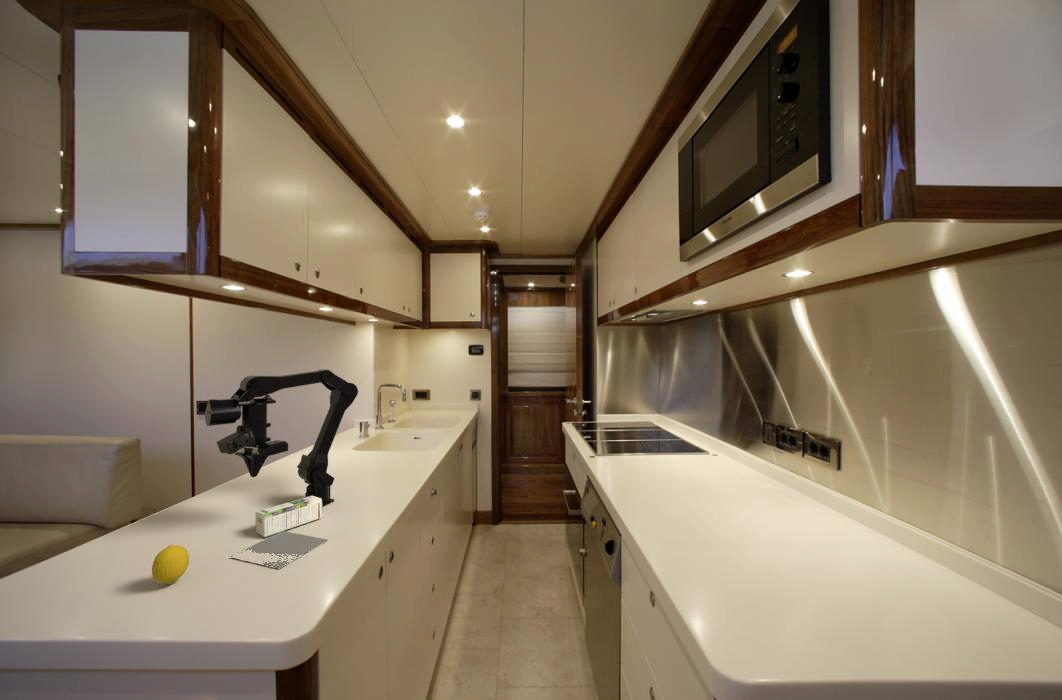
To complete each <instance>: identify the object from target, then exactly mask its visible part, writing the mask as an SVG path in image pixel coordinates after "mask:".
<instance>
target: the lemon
mask: <svg viewBox="0 0 1062 700" xmlns="http://www.w3.org/2000/svg"><path fill="white" fill-rule="evenodd" d="M189 564H190V555H189V552H188V550H187V548H185V547H184V546H182V545H178V544H176V545H175V544H169V545H168V546H167V547H165V548H163V549H162V550H161V551H159V553H157V554H156V556H155V558H154V559H153V561H152V566H151V575H152V578H153V579H154V580H155V581H156V582H157V583H159V584H167V585H172V584H173V583H174V582H175V581H176V580H179V579H180V578H181V577H182V576H183V575H184V574H186V572H187V570H188V567H189Z"/></svg>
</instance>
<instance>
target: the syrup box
mask: <svg viewBox="0 0 1062 700" xmlns="http://www.w3.org/2000/svg"><path fill="white" fill-rule="evenodd" d="M322 518H323V507H322V499H321V498H318V497H315V496H309V497H306V498H305V497H303V498H298V499H296V500H293V501H289V502H285V503H281V504H278V505H275V506H271V507H267V508H265V509H261V510H258V511H255V530H256V531H255V532H256V534H258V535H260V536H262V537H263V538H266V537H267V538H268V537H271V536H273V535H275V534H277V533H279V532H282V531H287V530H290V529H293V528H295V527H298V526H301V525H304V524H308V523H310V522H313V521H316V520H319V519H322Z"/></svg>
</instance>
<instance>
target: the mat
mask: <svg viewBox="0 0 1062 700" xmlns="http://www.w3.org/2000/svg"><path fill="white" fill-rule="evenodd" d="M326 541H327V542H328V539H326V538H321V537H315V536H312V535H310V536H309V535H307V534H306V535H305V534H300V533H296V532H290V531H287V530H284V531H282V532H279V533H276V534H273V535H270V536H268V537H267V538H264V539H263V540H261V541H259V542H257V543H255V544H253V545H251V546H249V547H247V548H245V549H246V550H248V549H249V550H251V549H252V552H253V553H254V551H255V552H256V553H260V554H261V553H264V554H265V553H269V554H272V553H274V554H275V555H277V554H281V555H282V554H284V555H283V556H286V557H288V556H287V555H286V554H288V555H291V556H296V554H297V556H296V557H299V555H302V554H304V553H306V552H308V551H309V550H311V549H313V548H315V547H317V546H318V545H320V544H322V543H323V544H325V543H326ZM324 542H325V543H324ZM323 544H322V545H323ZM320 546H321V545H320ZM250 547H251V548H250ZM318 547H319V546H318ZM318 547H317V548H318ZM245 549H244V550H245ZM315 549H316V548H315ZM246 550H245V551H246ZM313 550H314V549H313ZM239 552H240V551H239ZM239 552H237V553H239ZM241 553H242V552H241ZM285 553H286V554H285ZM308 553H309V552H308ZM292 554H295V555H292ZM233 555H234V554H233ZM233 555H230V556H231V557H232V556H233ZM281 555H277V556H279V557H282V556H281ZM271 556H273V555H271ZM282 558H283V557H282ZM294 558H295V557H294ZM271 559H272V558H271ZM279 559H281V558H279ZM286 559H288V558H286ZM286 559H284V560H286ZM291 560H294V559H291ZM279 561H281V560H278V561H277V562H272V563H271V562H269V561H268V562H269V563H267V562H265V563H263V564H264V565H268V566H273V567H276V568H281V567H282V566H284V565H285V564H287V563H289V562H287V561H288V560H287V561H283V562H279ZM263 562H264V561H263ZM275 563H277V564H275ZM273 564H275V565H273ZM281 569H282V568H281Z"/></svg>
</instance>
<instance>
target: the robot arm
mask: <svg viewBox="0 0 1062 700" xmlns="http://www.w3.org/2000/svg"><path fill="white" fill-rule="evenodd" d="M319 383H321V384H322V385H323V386H324V387H325V388H326V389H327V390H329V391H330V395H329V409H328V410H327V413H326V415H325V417H324V420H323V423H322V426H321V428H320V431H319V433H318V435H317V438H316V441H315V442H314V445H313V447H312V449H311V451H310V452H309V453H308V454H307V455H306V454H302V455H301V459H300V461H299V464H297V466H296V468H297V469H298V470H297V474H298V477H299V478H301V480H303V481H304V484H308V485H307V486H306V488H305V489H306V490H305V491H306V492H305V494H304V496H305V497H304V498H306V497H309V496H315V497H318V498H321V499H322V508H323V507H325V506H327V505H329V504H331V503H333V502H334V501H335V499H334V498H331V486H333V484H334V481H335V477H333V476H332V475H330V474H329V473H328V472H327V471H328V468H329V452H330V450H331V447H332V444H333V442H334V440H335V437H336V435H337V432H338V430H339V427H340V424H341V422H342V419H343V417H344V415H345V413H346V410H347V409H348V408H349V407H350V406H351V405H352V404H353V403H354V401H355V400H356V398H357V396H358V393H359V389H358V387H357V385H356V384H354V383H352V382H348V381H346V380H345V379H344V378H342V377H340V376H338V375H337V374H335V373H334V372H332V371H331V370H329V369H319V370H312V371H307V372H306V371H305V372H299V373H291V374H284V375H248V376H245V377H243V379H242V380H241V381H240V384H239V388H238V389H237V390H236V391H235V392H234V393H233V394H232V396H230V398H225V399H222V398H220V399H214V398H212V399H208V400H207V404H206V408H205V411H204V422H205V425H206V426H207V427H213V426H220V425H229V424H236V422H237V421H239V420H240V419H241V424H240V425H237V426H236V431H235V432H234V433H231V434H229V435H227V436H225V437H223V438H221V439H219V440H218V441H216V445H217V447H218V450H219V452H220V454H227V455H236V456H237V457H240V458H241V459H243V461H244V463H245V465H246V468H247V471H248V472H249V475H250V477H251V478H255V477H257V476H258V474H259V473H260V471H261V469H262V467H263V466H264V464H265V462H266V461H267V459H268V457H270V456H271V457H272V456H275V455H278V454H281V453H285V452H289V443H288V442H287V441H286V440H280V439H279V440H278V439H277V440H271V439H272V438H271V437H269V436H268V428H271V427H272V424H271V423H272V422H268V405H271V404H276V403H277V401H276V400H275V399H273V398H272V397H271V396H270V395H271V394H274V393H276V392H278V391H280V390H284V389H289V388H296V387H303V386H309V385H314V384H319Z"/></svg>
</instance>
